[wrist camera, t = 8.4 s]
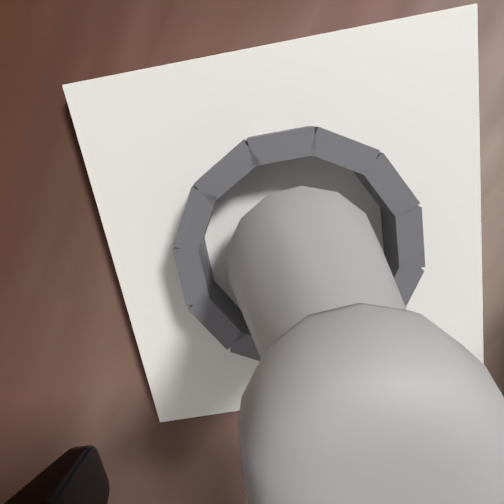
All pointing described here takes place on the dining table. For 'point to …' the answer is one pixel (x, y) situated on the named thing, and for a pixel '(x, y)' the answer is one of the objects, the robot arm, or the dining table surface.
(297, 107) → the ring holder
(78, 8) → the dining table surface
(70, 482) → the robot arm
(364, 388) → the salt shaker
